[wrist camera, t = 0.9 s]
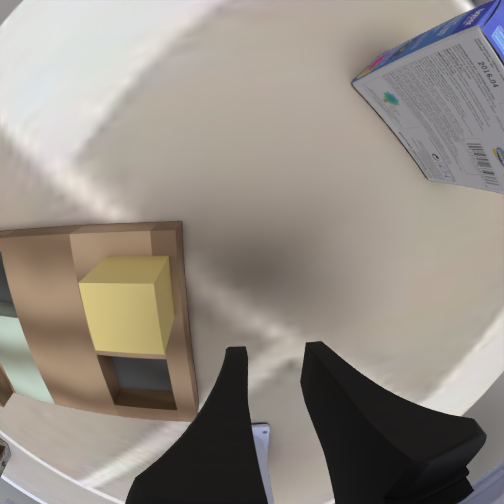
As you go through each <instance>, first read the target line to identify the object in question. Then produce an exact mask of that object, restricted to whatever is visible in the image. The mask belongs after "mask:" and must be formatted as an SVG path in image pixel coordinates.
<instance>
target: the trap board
mask: <svg viewBox="0 0 504 504" xmlns="http://www.w3.org/2000/svg"><path fill="white" fill-rule="evenodd" d="M124 256H169V265H170V277H171V287H172V297H173V306H174V315H175V317H174V321H173V324H172V328H171V332H170V336H169V339H168V343H167V347H166V351H165V355H161V354H139V353H123V352H110V351H99V350H95V347H94V343H93V340H92V336H91V333H90V329H89V326H88V322H87V318H86V314H85V310H84V306H83V302H82V297H81V293H80V288H79V282H80V281H81V280H82V279H83V278H84V277H85V276H86V275H87V274H88V273H89V272H90V271H91V270H92V269H93V268H95V267H96V266H97V265H98V264H99V263H100V262H101V261H102V260H103V259H104V258H105V257H124ZM13 392H14V393H17V394H20V395H23V396H27V397H30V398H34V399H37V400H41V401H45V402H48V403H52V404H57V405H61V406H65V407H70V408H75V409H80V410H85V411H90V412H96V413H102V414H108V415H115V416H123V417H131V418H140V419H151V420H165V421H185V422H193V420H194V419H195V418H196V416H197V415H198V408H199V399H198V392H197V385H196V378H195V371H194V363H193V355H192V347H191V338H190V328H189V319H188V308H187V297H186V285H185V271H184V256H183V238H182V221H175V222H143V223H118V224H97V225H78V226H62V227H46V228H32V229H19V230H7V231H0V406H1V407H4V406H5V404H6V403H7V401H8V400H9V398H10V397H11V395H12V394H13Z"/></svg>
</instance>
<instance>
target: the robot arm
mask: <svg viewBox="0 0 504 504" xmlns="http://www.w3.org/2000/svg"><path fill="white" fill-rule="evenodd" d="M300 383H301V387H302V392H303V396H304V400H305V404H306V407H307V409H308V412H309V415H310V417H311V420H312V422H313V425H314V428H315V430H316V433H317V435H318V438H319V440H320V443H321V446H322V448H323V452H324V455H325V458H326V462H327V466H328V470H329V474H330V479H331V484H332V488H333V493H334V498H335V504H504V461H502V462H501V463H500V464H499V465H497V466H496V467H495V468H493V469H492V470H491V471H489V472H488V473H486V474H485V475H484V476H482V477H481V478H479V479H478V480H476V481H475V482H473V483H472V484H470V483H469V481H468V480H467V478H466V476H467V475H468V474H469V471H468V469H467V467H466V466H467V464H468V463H469V462H470V461H471V460H472V459H473V458H474V456H475V455H476V454H477V453H478V451H479V450H480V449H481V448H482V446H483V445H484V443H485V441H486V436H487V435H486V434H485V432H484V431H483V430H482V429H481V427H480V426H479V425H478V423H477V422H476V421H475V420H474V419H472V418H465V417H460V416H454V415H449V414H445V413H442V412H438V411H435V410H431V409H428V408H425V407H423V406H420V405H417V404H415V403H413V402H410V401H408V400H406V399H403V398H401V397H399V396H397V395H395V394H393V393H392V392H390V391H388V390H386V389H384V388H383V387H381V386H379V385H378V384H376V383H375V382H373V381H372V380H370V379H369V378H367V377H366V376H364V375H363V374H361V373H360V372H359V371H357V370H356V369H355V368H353V367H352V366H351V365H350V364H348V363H347V362H346V361H345V360H343V359H342V358H341V357H340V356H338V355H337V354H336V353H335V352H334V351H333V350H331V349H330V348H329V347H328V346H327V345H325V344H324V343H323V342H322V341H318V342H307V343H306V346H305V353H304V360H303V367H302V374H301V380H300ZM269 434H270V426H269V425H268V424H257V425H251V419H250V413H249V407H248V355H247V351H246V346H243V347H228V348H227V349H226V354H225V359H224V362H223V365H222V368H221V371H220V373H219V376H218V378H217V381H216V383H215V385H214V387H213V389H212V391H211V393H210V395H209V397H208V399H207V400H206V402H205V404H204V405H203V407H202V409H201V410H200V412H199V413H198V415H197V416H196V418H195V419H194V420H193V422H192V423H191V424H190V426H189V427H188V428H187V430H186V431H185V432H184V433H183V434H182V436H181V437H180V438H179V439H178V440H177V441H176V442H175V443H174V444H173V445H172V446H171V447H170V448H169V449H168V450H167V451H166V452H165V453H164V454H163V455H162V456H161V457H160V458H159V459H158V460H157V461H156V462H154V463H153V464H152V465H151V466H150V467H148V468H147V469H146V470H145V471H143V472H142V473H141V474H139V475H138V476H137V477H136V478H135V480H134V482H133V484H132V486H131V488H130V491H129V493H128V496H127V499H126V503H125V504H274V500H273V494H272V488H271V483H270V477H269V471H268V465H267V453H268V444H269ZM5 504H17V503H15V502H13V501H11V500H10V499H7V500H6V502H5Z"/></svg>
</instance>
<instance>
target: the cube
mask: <svg viewBox="0 0 504 504" xmlns="http://www.w3.org/2000/svg"><path fill="white" fill-rule="evenodd" d="M79 288H80V293H81V297H82V302H83V306H84V310H85V314H86V318H87V322H88V326H89V329H90V333H91V336H92V340H93V343H94V347H95V350H99V351H110V352H123V353H139V354H161V355H165V351H166V347H167V343H168V339H169V336H170V332H171V328H172V324H173V321H174V317H175V315H174V306H173V297H172V287H171V277H170V265H169V256H124V257H105V258H104V259H103V260H102V261H101V262H100V263H99V264H98V265H97V266H96V267H95V268H93V269H92V270H91V271H90V272H89V273H88V274H87V275H86V276H85V277H84V278H83V279H82V280H81V281H80V282H79Z"/></svg>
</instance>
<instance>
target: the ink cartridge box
mask: <svg viewBox="0 0 504 504" xmlns="http://www.w3.org/2000/svg"><path fill="white" fill-rule="evenodd" d="M352 84H353V86H354V87H355V88H356V89H357V90H358V92H359V93H360V94H361V95H362V96H363V97H364V98H365V99H366V100H367V101H368V102H369V103H370V105H371V106H372V107H373V108H374V109H375V110H376V111H377V113H378V114H379V115H380V116H381V117H382V118H383V120H384V121H385V122H386V123H387V124H388V126H389V127H390V128H391V129H392V131H393V132H394V133H395V134H396V136H397V137H398V138H399V139H400V141H401V142H402V143H403V145H404V146H405V147H406V149H407V150H408V151H409V153H410V154H411V155H412V157H413V158H414V159H415V161H416V162H417V164H418V165H419V166H420V168H421V169H422V171H423V172H424V174H425V175H426V177H427V178H428V180H430V181H434V182H441V183H448V184H454V185H460V186H465V187H471V188H476V189H481V190H487V191H491V192H496V193H501V194H504V0H493V1H491V2H488V3H486V4H484V5H481V6H479V7H477V8H474V9H472V10H470V11H468V12H465V13H463V14H461V15H459V16H457V17H455V18H452V19H450V20H448V21H446V22H444V23H442V24H440V25H438V26H436V27H434V28H432V29H430V30H428V31H427V32H424V33H422V34H420V35H418V36H416V37H415V38H413V39H411V40H409V41H407V42H405V43H403V44H401V45H399V46H398V47H396V48H394V49H392V50H390V51H387V52H385V53H383V54H382V55H381V56H380V57H378V58H377V59H376V60H375V61H374V62H373V63H372V64H370V65H369V66H368V67H367V68H366V69H365V70H364V71H362V72H361V73H360V74H359V75H358V76H357V77H356V78H355V79H354V80H353V81H352Z"/></svg>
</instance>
